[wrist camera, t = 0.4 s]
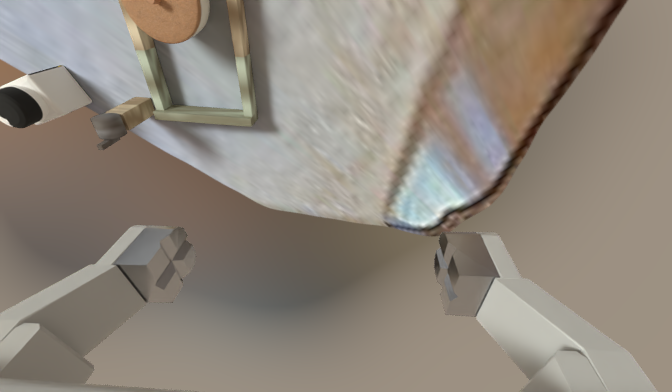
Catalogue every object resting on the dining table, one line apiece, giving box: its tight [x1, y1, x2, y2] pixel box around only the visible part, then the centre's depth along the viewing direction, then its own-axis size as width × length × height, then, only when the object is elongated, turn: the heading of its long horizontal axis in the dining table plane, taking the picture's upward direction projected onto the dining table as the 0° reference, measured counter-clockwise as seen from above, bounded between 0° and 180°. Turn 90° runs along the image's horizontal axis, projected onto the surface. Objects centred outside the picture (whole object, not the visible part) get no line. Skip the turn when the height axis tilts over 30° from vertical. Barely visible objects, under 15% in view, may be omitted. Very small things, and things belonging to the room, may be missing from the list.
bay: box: [119, 0, 258, 127], centre depth 47 cm, size 24×18×4 cm
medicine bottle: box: [0, 65, 92, 128], centre depth 50 cm, size 7×7×12 cm
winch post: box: [90, 97, 155, 150], centre depth 50 cm, size 4×4×14 cm
